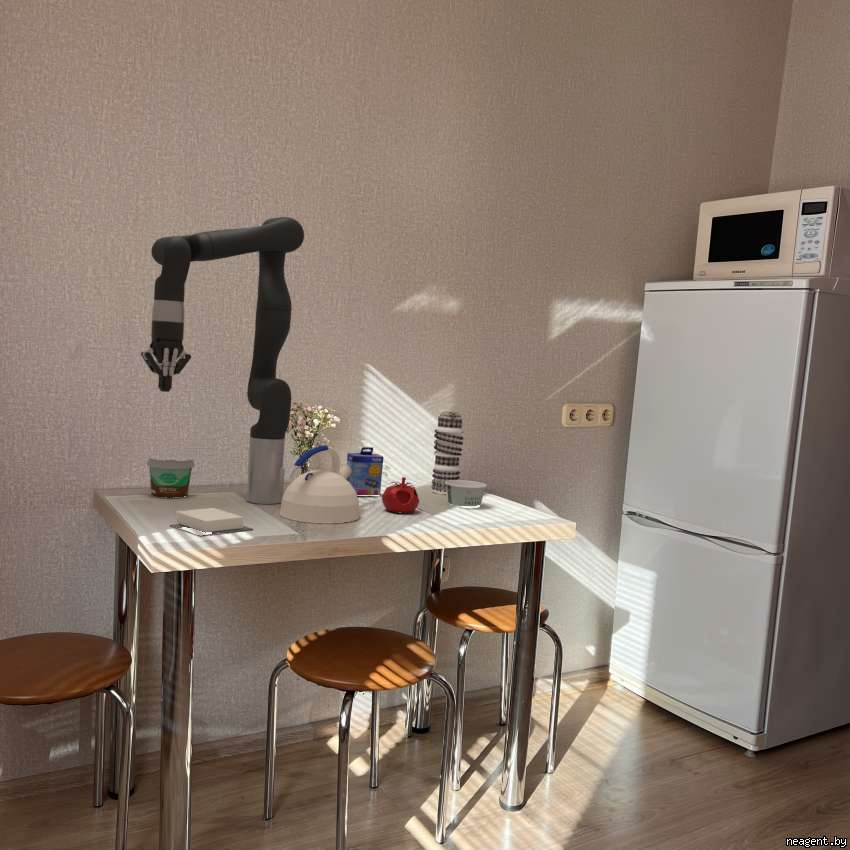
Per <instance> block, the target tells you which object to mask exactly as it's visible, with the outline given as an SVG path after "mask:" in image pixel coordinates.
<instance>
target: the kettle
mask: <svg viewBox="0 0 850 850" xmlns="http://www.w3.org/2000/svg"><path fill="white" fill-rule="evenodd" d="M325 451H327V452H328V453H329V456H330V458H331V468H330V470H327V469H326V470H325V469H314V470H310V471H307V472H303V473H302V474H301V475H299V476H297V477H296V478H294V479H293V480H292V482H290V484H288V486H287V487H286V489H285V491H284V492H283V497H282V503H280V508H279V509H280V510H279V514H280V516H281V517H283V518H284V519H288V520H290V521H294V522H301V523H307V524H318V523H321V524H322V525H323V524H324V525H326V524H327V525H328V524H329V525H334V524H333V523H339V524H345V523H344V522H349V523H352V522H351V521H353V522H355V521H354V520H356V521H358V520H359V519H360V518H359V517H361V515H360V500H359V497H357V494H356V491H355V490H354V488H353V487H352V485H351V484H350V483H349V482H348V481H347V480H346V479H347V477H348V476H349V474H351V468H350V467H349V466H347V464H344V463H343V464H341V459H340V455H339V453H338V452H337V450H336V449H335V448H334V447H332V446H330V445H329V446H328V445H326V444H324V445H320V446H316V447H313V448H311V449H310V450H307V451H305V452H304V453H303V454H302V455H301V456H299V458H297V460H296V461H295V462H294V463H293V465H294V466H296V467H299V468H300V467H303V465H304V464H305V463H306V461H307V460H309V459H310V458H311V457H312V456H314V455H316V454H317V453H320V452H325ZM358 518H359V519H358ZM357 519H358V520H357ZM321 524H320V525H321Z"/></svg>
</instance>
